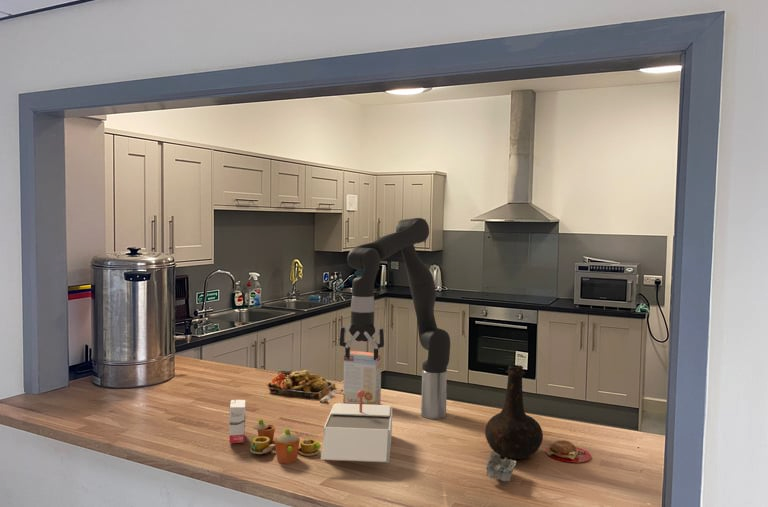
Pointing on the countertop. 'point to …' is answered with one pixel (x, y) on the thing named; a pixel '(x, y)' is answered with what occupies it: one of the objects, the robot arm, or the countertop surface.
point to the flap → (361, 408)
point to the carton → (357, 438)
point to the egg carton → (500, 467)
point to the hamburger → (567, 452)
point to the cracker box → (362, 378)
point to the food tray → (302, 385)
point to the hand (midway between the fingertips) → (361, 359)
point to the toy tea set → (282, 443)
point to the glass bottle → (514, 423)
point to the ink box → (237, 421)
